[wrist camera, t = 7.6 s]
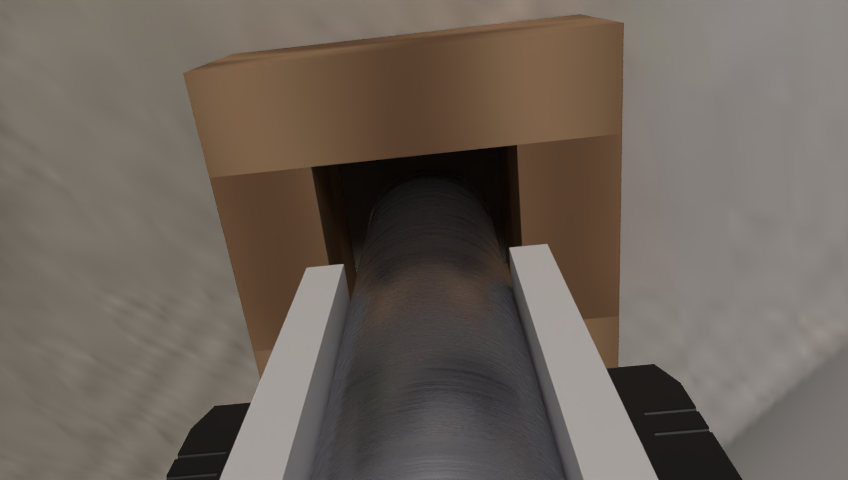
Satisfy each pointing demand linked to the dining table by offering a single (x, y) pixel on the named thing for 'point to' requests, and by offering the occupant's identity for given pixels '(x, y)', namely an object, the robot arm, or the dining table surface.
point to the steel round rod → (434, 351)
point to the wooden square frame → (418, 149)
